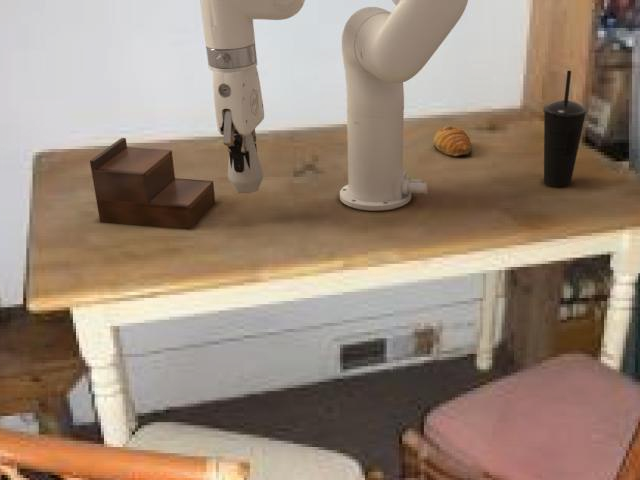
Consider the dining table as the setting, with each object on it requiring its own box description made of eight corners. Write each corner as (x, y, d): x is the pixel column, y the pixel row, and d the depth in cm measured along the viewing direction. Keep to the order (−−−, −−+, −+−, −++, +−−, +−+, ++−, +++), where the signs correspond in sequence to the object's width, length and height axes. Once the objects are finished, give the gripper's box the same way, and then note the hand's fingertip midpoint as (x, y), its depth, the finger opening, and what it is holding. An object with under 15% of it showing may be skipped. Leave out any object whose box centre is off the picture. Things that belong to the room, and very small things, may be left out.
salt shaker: (258, 196, 151) (249, 117, 144) (225, 195, 152) (214, 116, 145) (268, 183, 156) (260, 106, 149) (236, 182, 157) (227, 105, 150)
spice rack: (215, 202, 163) (209, 143, 157) (190, 229, 153) (183, 167, 147) (130, 196, 165) (121, 137, 160) (99, 222, 156) (89, 160, 150)
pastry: (479, 156, 183) (480, 137, 181) (447, 160, 181) (447, 141, 179) (460, 141, 190) (461, 123, 188) (429, 145, 188) (430, 127, 186)
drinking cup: (583, 179, 171) (596, 68, 161) (572, 192, 166) (586, 78, 155) (542, 173, 174) (553, 63, 164) (530, 186, 168) (541, 74, 158)
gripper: (237, 71, 135) (251, 190, 145) (271, 43, 149) (281, 154, 159) (189, 70, 137) (206, 188, 147) (226, 43, 150) (239, 153, 160)
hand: (245, 170), depth 153 cm, fingers closed on salt shaker, 3 cm apart
